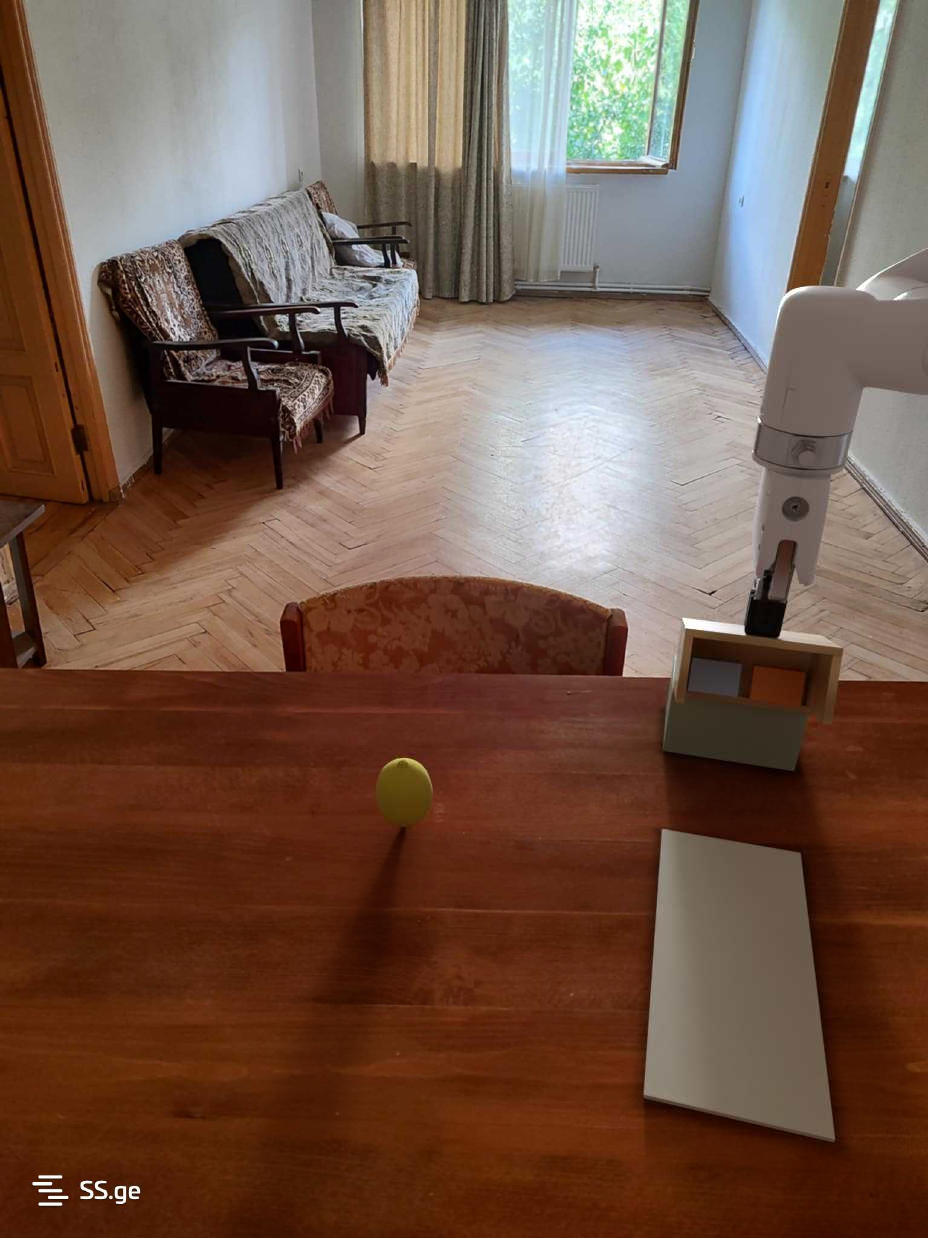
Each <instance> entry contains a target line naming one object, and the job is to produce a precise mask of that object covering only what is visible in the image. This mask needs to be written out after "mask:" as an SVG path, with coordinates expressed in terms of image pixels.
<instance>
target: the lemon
mask: <svg viewBox="0 0 928 1238" xmlns="http://www.w3.org/2000/svg"><path fill="white" fill-rule="evenodd" d="M432 784H433V783H432V781H431V778H430V775H429V773H428V771H427V770H426V768H425V767H424V766H423V764H421V763H420V762H419V761H417V760H414V759H412V758H409V757H408V758H407V757H401V758H395V759H392V760H391V761H390V762H388V763H387V764H386V765H384V766H383V767H382V769H381V771H380V772H379V774H378V777H377V779H376V784H375V790H374V795H375V805H376V807H377V810H378V812H379V814H380V815H381V817H382V818H383V820H385V821H386V822H387V823H389V824H390V825H392V826H395V827H398V828H409V827H413V826H415V825H417V824H419V823H420V822H421V821H423V820H424V818H425V817H426V816H427V815H428V813H429V811H430V808H431V806H432V804H433V785H432Z"/></svg>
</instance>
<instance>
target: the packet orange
mask: <svg viewBox="0 0 928 1238" xmlns="http://www.w3.org/2000/svg"><path fill="white" fill-rule="evenodd" d="M805 677H806V672H805V671H804V670H801V669H793V668H786V667H778V666H771V665H763V664H756V663H753V664H752V670H751V677H750V684H749V691H748V697H749V699H751V700H758V701H765V702H772V703H779V704H786V705H793V706H800V707H801V703H802V697H803V690H804V684H805Z"/></svg>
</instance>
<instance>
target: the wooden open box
mask: <svg viewBox="0 0 928 1238" xmlns="http://www.w3.org/2000/svg"><path fill="white" fill-rule="evenodd" d="M676 653H677V660H676V667H675V675H674V682H673V689H672V693H673V695H675V702H676V703H680V704H684V700H685V697H692V698H699V699H706V700H713V701H720V702H727V703H734V704H741V705H748V706H755V707H762V708H769V709H776V710H783V711H790V712H797V713H804V714H809V715H812V716H813V715H814V716H815V718H817V720H818V722H820V723H821V724H822V725H825V726H832V725H833V718H834V712H835V706H836V698H837V692H838V687H839V679H840V675H841V667H842V661H843V654H844V647H842V646H841V645H839V644H837V643H836V642H834V641H832V640H830V639H828V638H827V637H826V636H824V635H821V634H817V633H807V632H800V631H791V630H783V629H781V633H780V636H779V637H778V638H772V637H764V636H757V635H749V634H745V632H744V624H734V623H728V622H720V621H711V620H705V619H695V618H688V617H682V618H681V624H680V631H679V637H678V647H677V652H676ZM692 655H695V656H703V657H710V658H718V659H725V660H733V661H740V662H741V663H742V670H741V677H740V683H739V690H738V697H730V696H723V695H716V694H709V693H702V692H694V691H688V689H687V683H688V676H689V669H690V661H691V656H692ZM753 663H756V664H763V665H771V666H778V667H786V668H793V669H801V670H804V671H805V672H806V677H805V684H804V690H803V697H802V703H801V707H800V706H793V705H786V704H779V703H772V702H765V701H758V700H751V699H749V697H748V691H749V684H750V677H751V670H752V664H753Z"/></svg>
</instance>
